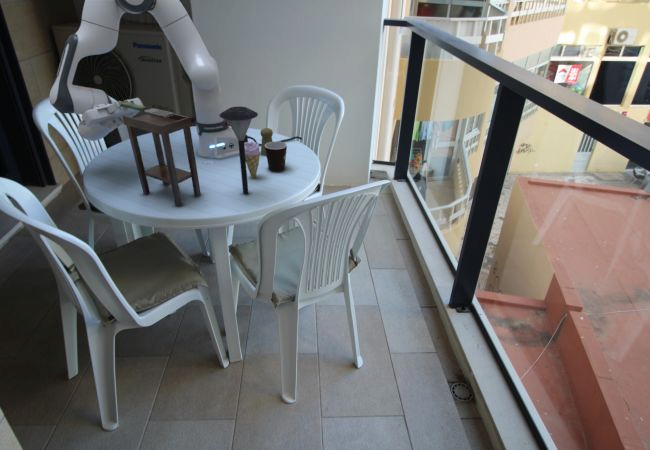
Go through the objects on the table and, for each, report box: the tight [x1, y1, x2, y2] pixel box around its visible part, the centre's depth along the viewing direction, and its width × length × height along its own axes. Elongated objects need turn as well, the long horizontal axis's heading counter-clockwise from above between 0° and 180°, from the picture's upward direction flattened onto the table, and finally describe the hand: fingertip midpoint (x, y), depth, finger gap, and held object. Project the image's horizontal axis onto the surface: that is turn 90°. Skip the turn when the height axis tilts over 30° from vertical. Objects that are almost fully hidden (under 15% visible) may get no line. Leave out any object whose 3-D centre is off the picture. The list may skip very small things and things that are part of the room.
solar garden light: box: [219, 106, 259, 196], centre depth 132 cm, size 12×12×30 cm
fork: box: [116, 100, 175, 118], centre depth 124 cm, size 24×4×1 cm, turn 61°
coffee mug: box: [265, 140, 288, 173], centre depth 157 cm, size 12×9×10 cm
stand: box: [122, 107, 202, 208], centre depth 130 cm, size 18×11×28 cm, turn 61°
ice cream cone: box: [245, 140, 261, 179], centre depth 147 cm, size 7×6×15 cm
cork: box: [260, 127, 274, 157], centre depth 169 cm, size 6×6×11 cm
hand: (123, 103), depth 128 cm, fingers closed on fork
